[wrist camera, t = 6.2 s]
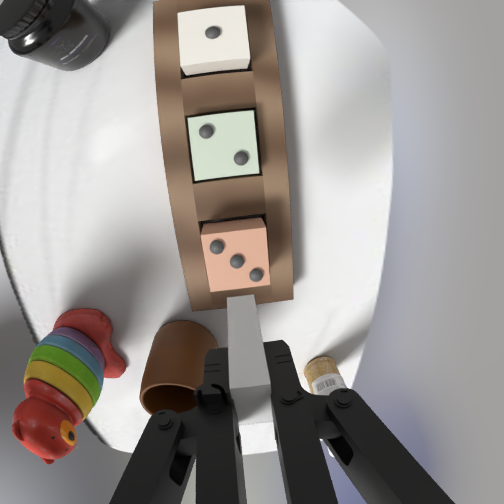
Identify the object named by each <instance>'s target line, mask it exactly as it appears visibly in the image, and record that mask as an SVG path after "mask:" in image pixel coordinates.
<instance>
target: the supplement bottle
mask: <svg viewBox="0 0 504 504" xmlns="http://www.w3.org/2000/svg"><path fill="white" fill-rule="evenodd" d="M109 35H110V25H109V22H108V20H107V19H106V17H105V16H104V15H103V14H102V13H101V12H100V11H99V10H98V9H97V8H96V7H95V6H94V5H93V4H92V3H90V2H89V1H88V0H4V1H3V2H2V4H1V5H0V36H3V37H4V38H6V39H8V44H9V47H10V49H11V51H12V52H13V53H14V54H16V55H19V56H21V57H25V58H28V59H31V60H34V61H37V62H40V63H43V64H46V65H49V66H52V67H54V68H57V69H60V70H64V71H74V70H78V69H80V68H83V67H85V66H86V65H88V64H89V63H91V62H92V61H93V60H94V59H95V58H96V57H97V56H98V55H99V54H100V53H101V52H102V50H103V49H104V47H105V45H106V44H107V41H108V39H109Z"/></svg>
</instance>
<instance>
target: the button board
mask: <svg viewBox="0 0 504 504" xmlns="http://www.w3.org/2000/svg"><path fill="white" fill-rule="evenodd" d="M242 5H244V7H245V16H246V24H247V33H248V42H249V51H250V61H249V64H250V71H247V72H234V73H224V74H215V75H207V76H200V77H193V78H187V79H184V73H183V70H182V68H181V66H180V52H179V35H178V13H180V12H186V11H192V10H199V9H207V8H216V7H227V6H242ZM153 38H154V63H155V80H156V93H157V105H158V115H159V125H160V134H161V143H162V151H163V158H164V166H165V173H166V180H167V186H168V193H169V199H170V205H171V211H172V217H173V222H174V228H175V233H176V238H177V243H178V249H179V253H180V258H181V263H182V268H183V273H184V277H185V282H186V286H187V290H188V295H189V299H190V303H191V307H192V311H203V310H212V309H222V308H227V298H228V297H237V296H245V295H253V294H254V298H255V304H263V303H271V302H278V301H285V300H292V299H293V261H292V235H291V215H290V196H289V180H288V166H287V152H286V140H285V128H284V117H283V106H282V96H281V86H280V77H279V68H278V60H277V52H276V44H275V36H274V29H273V22H272V15H271V8H270V1H269V0H159V1H155V2H153ZM247 110H254V113H255V123H256V134H257V145H258V156H259V167H260V173H259V174H249V175H239V176H230V177H222V178H214V179H206V180H199V181H195V177H194V169H193V161H192V153H191V145H190V136H189V127H188V118H189V117H195V116H202V115H209V114H217V113H226V112H236V111H247ZM255 214H264V224H265V226H266V234H267V247H268V261H269V275H270V285H265V286H257V287H249V288H241V289H232V290H224V291H215V292H210V286H209V281H208V276H207V270H206V264H205V259H204V253H203V247H202V241H201V232H202V226H201V221H205V220H213V219H221V218H229V217H238V216H246V215H255Z"/></svg>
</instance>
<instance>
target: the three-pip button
mask: <svg viewBox="0 0 504 504" xmlns="http://www.w3.org/2000/svg"><path fill="white" fill-rule="evenodd" d="M201 241H202V247H203V253H204V259H205V264H206V270H207V276H208V281H209V286H210V292H215V291H224V290H232V289H241V288H249V287H257V286H265V285H270V275H269V261H268V247H267V234H266V226H265V224H264V222H263V220H262V218H261V217H258V218H249V219H240V220H232V221H223V222H215V223H207V224H203V228H202V232H201Z"/></svg>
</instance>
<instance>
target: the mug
mask: <svg viewBox="0 0 504 504" xmlns="http://www.w3.org/2000/svg"><path fill="white" fill-rule="evenodd" d="M216 348H218V346H217V342H216V340H215V338H214V336H213V335H212V334H211V332H209V331H208V330H207V329H206V328H205V327H203V326H201V325H199V324H197V323H194V322H190V321H174V322H171V323H168V324H166V325H164V326H163V327H161V328H160V329H159V331H158V332H157V333H156V335H155V337H154V340H153V343H152V347H151V350H150V353H149V356H148V360H147V363H146V367H145V371H144V374H143V378H142V383H141V390H140V402H141V404H142V406H143V408H144V409H145V410H146V411H147V412H148V413H149V414H150V415H153V414H154V413H156V412H157V411H160V410H164V409H165V410H172V411H175V412H176V413H177V414H179V413H182V412H186V411H189V410H191V409H193V408H195V407H196V406H197V403H196V401H195V398H194V392H195V389H196V388H197V387H198V386H199V385H201V384H203V375H204V359H205V355H206V354H207V352H208V351H209V349H216Z"/></svg>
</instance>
